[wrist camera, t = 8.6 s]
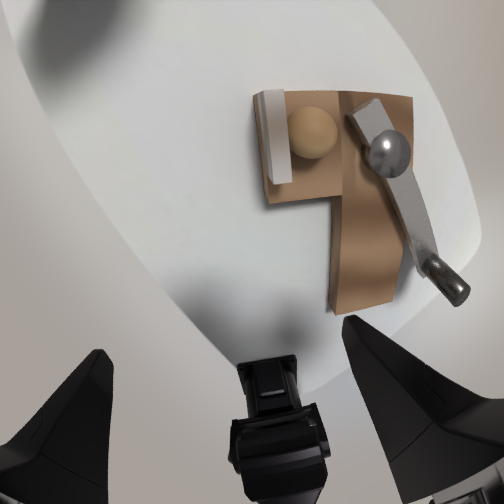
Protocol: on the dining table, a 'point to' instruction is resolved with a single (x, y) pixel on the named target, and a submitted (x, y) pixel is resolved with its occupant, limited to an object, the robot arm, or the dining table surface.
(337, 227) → the board
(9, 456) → the robot arm
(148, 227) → the dining table surface
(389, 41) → the dining table surface
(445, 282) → the lever
